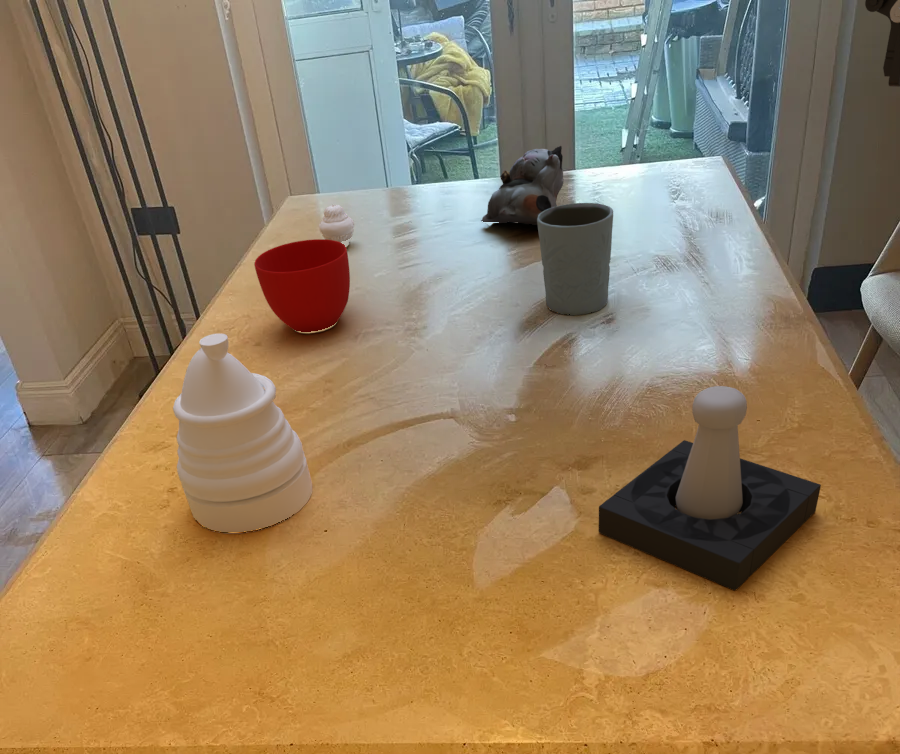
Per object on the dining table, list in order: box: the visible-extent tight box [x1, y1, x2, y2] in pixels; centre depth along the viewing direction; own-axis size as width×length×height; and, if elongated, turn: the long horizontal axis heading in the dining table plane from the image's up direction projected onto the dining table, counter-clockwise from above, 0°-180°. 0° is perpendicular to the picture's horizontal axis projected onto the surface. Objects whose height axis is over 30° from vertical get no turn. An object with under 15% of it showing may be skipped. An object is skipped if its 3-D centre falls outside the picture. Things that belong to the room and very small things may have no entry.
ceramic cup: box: [254, 238, 351, 332], centre depth 122 cm, size 13×17×10 cm
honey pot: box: [172, 332, 313, 532], centre depth 84 cm, size 13×13×18 cm
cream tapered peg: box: [675, 385, 748, 520], centre depth 74 cm, size 6×6×13 cm
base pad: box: [598, 439, 822, 591], centre depth 77 cm, size 14×14×3 cm
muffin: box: [318, 204, 355, 242], centre depth 147 cm, size 6×6×7 cm
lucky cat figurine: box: [480, 145, 565, 226], centre depth 144 cm, size 15×12×14 cm
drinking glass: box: [537, 202, 614, 316], centre depth 116 cm, size 10×10×12 cm
